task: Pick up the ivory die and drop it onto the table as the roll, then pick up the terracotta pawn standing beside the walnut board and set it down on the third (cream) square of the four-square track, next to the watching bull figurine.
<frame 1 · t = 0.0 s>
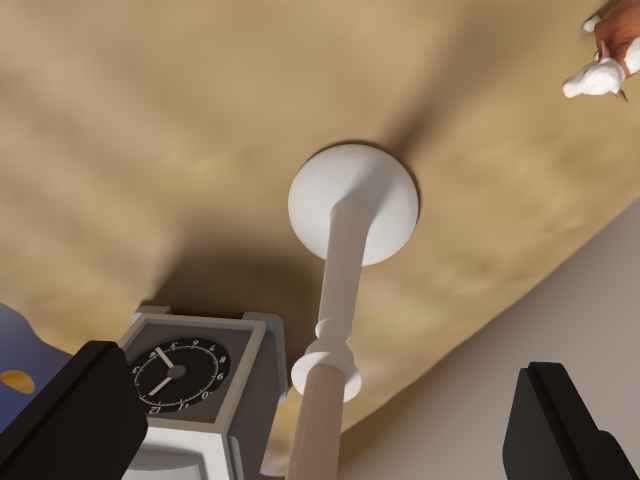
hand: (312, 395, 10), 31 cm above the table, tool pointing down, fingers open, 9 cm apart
alarm clock: (215, 350, 53), on the table
candlestick: (352, 207, 41), on the table
bull figurine: (611, 12, 31), on the table
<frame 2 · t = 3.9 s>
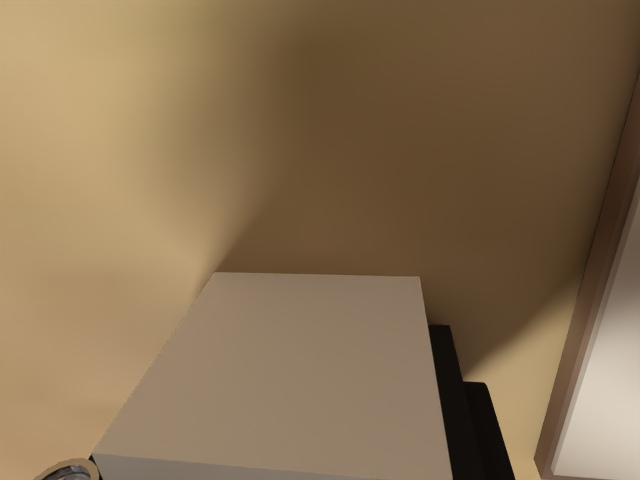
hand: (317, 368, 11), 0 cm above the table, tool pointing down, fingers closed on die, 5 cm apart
die: (319, 353, 11), on the table, touching gripper
when the fingers open (14 cm above the table, at t = 5.3 s): die drops 14 cm, on the table.
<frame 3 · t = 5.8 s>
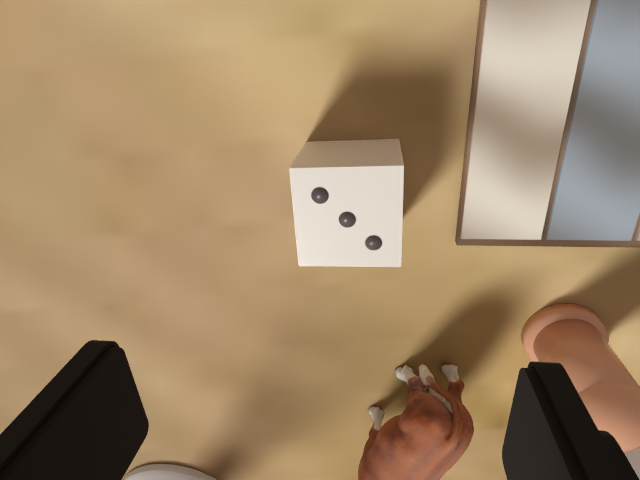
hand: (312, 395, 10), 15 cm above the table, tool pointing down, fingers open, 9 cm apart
pawn: (560, 333, 26), on the table
bull figurine: (395, 400, 31), on the table
die: (353, 183, 23), on the table
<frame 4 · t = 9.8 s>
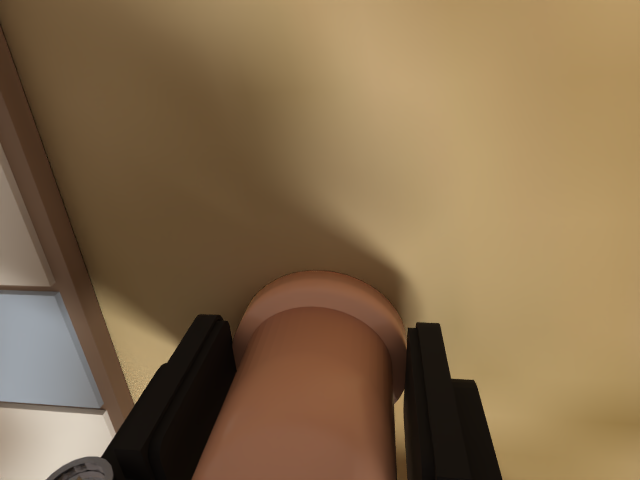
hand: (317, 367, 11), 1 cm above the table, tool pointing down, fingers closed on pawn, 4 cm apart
pawn: (322, 341, 12), on the table, touching gripper
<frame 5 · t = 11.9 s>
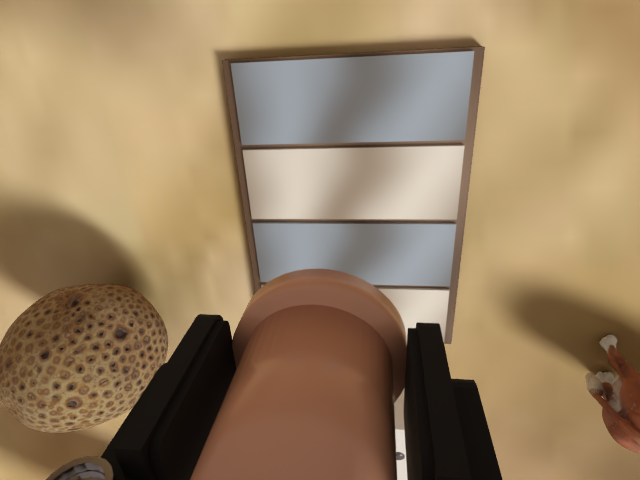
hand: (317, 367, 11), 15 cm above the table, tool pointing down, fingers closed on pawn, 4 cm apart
pawn: (322, 339, 12), point 14 cm above the table, touching gripper
board: (351, 216, 25), on the table
natural sponge: (136, 301, 31), on the table
die: (395, 396, 31), on the table
when the fingers open (3 cm above the table, at t = 14.3 s): pawn stays where it is, resting on board.
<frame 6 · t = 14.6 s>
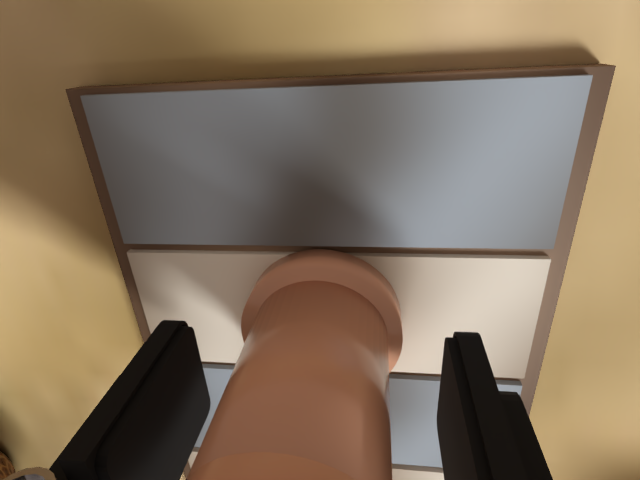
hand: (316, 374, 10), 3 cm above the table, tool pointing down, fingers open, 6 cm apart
pawn: (324, 315, 13), point 1 cm above the table, touching board
board: (332, 354, 14), on the table
natural sponge: (6, 447, 20), on the table
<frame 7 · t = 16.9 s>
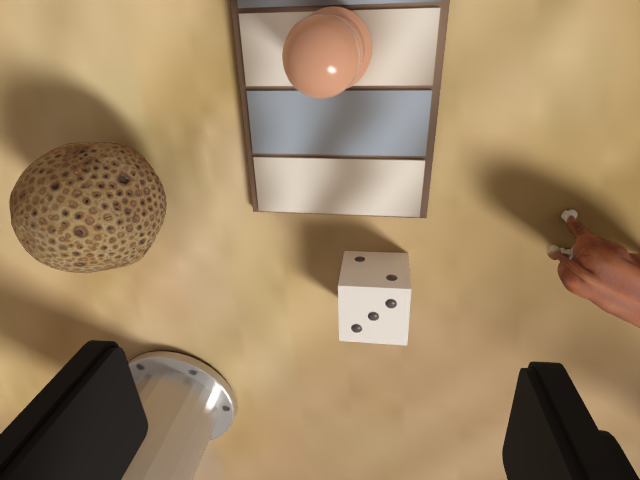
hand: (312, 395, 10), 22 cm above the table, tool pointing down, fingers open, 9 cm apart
pawn: (334, 49, 25), point 1 cm above the table, touching board
board: (337, 86, 27), on the table
natural sponge: (138, 179, 33), on the table
bull figurine: (609, 257, 30), on the table
die: (375, 277, 34), on the table
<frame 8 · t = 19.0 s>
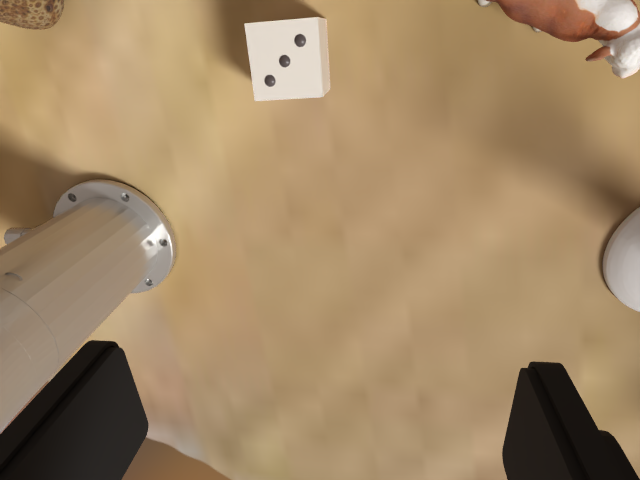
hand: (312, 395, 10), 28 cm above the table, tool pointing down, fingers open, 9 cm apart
bull figurine: (528, 0, 29), on the table
die: (297, 57, 33), on the table
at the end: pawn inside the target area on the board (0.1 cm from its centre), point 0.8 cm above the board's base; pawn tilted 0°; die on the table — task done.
